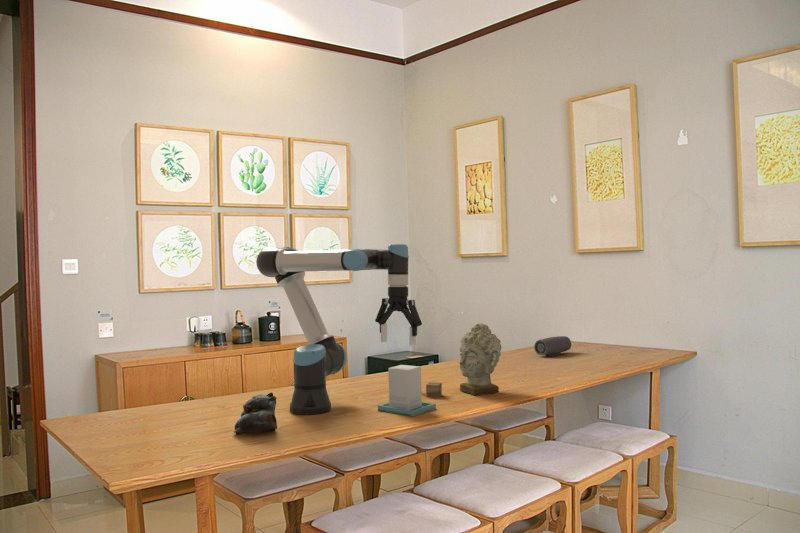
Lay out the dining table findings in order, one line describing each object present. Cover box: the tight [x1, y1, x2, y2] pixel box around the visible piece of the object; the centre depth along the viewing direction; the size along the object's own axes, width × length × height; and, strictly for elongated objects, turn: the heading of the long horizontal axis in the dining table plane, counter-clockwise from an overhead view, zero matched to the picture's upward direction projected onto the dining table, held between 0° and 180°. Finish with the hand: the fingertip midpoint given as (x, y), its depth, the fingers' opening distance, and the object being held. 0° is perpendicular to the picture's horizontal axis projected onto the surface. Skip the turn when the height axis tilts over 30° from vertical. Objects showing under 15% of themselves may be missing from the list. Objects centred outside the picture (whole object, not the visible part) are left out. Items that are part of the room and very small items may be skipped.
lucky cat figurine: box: [233, 392, 278, 435], centre depth 211 cm, size 15×12×14 cm
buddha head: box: [459, 323, 502, 397], centre depth 266 cm, size 17×19×28 cm
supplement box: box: [387, 364, 423, 410], centre depth 237 cm, size 9×9×15 cm
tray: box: [377, 401, 437, 417], centre depth 237 cm, size 14×16×2 cm
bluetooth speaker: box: [534, 335, 572, 357], centre depth 359 cm, size 23×9×10 cm, turn 130°
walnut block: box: [425, 381, 443, 399], centre depth 260 cm, size 5×5×5 cm
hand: (397, 343), depth 240 cm, fingers open, 13 cm apart
